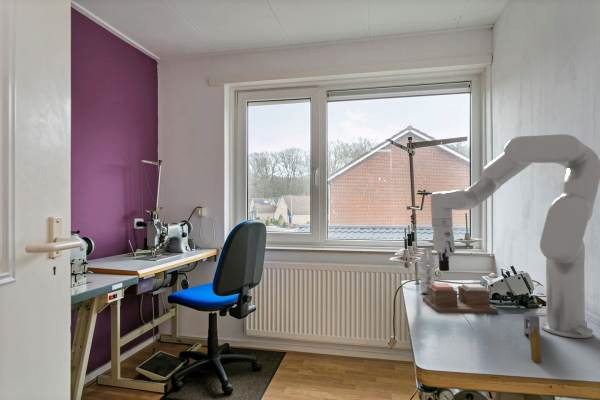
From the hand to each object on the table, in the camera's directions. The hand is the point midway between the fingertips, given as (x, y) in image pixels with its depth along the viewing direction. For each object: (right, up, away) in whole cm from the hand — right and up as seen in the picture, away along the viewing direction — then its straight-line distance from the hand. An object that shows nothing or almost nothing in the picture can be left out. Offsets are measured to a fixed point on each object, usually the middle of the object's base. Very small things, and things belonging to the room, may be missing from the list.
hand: (444, 270), depth 133 cm
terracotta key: (-1, -11, 0) cm, 11 cm away
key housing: (+5, -14, 0) cm, 15 cm away
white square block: (+11, -11, 0) cm, 16 cm away
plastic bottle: (+1, -15, +20) cm, 25 cm away
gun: (+9, -14, -37) cm, 41 cm away
